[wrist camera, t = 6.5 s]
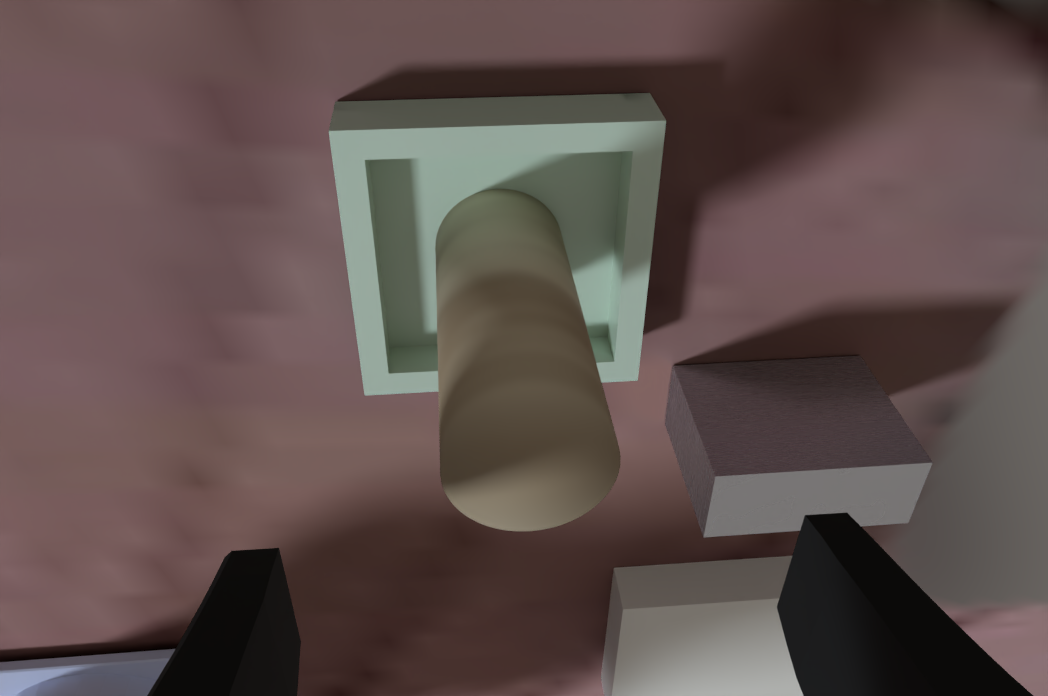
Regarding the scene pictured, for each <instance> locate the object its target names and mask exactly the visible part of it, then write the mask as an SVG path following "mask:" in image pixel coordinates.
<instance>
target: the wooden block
mask: <svg viewBox="0 0 1048 696" xmlns="http://www.w3.org/2000/svg"><path fill="white" fill-rule="evenodd" d="M665 426H666V428H667V431H668V434H669V437H670V440H671V443H672V446H673V449H674V452H675V455H676V458H677V461H678V464H679V467H680V470H681V473H682V476H683V479H684V481H685V484H686V487H687V490H688V493H689V496H690V499H691V502H692V505H693V508H694V511H695V514H696V517H697V520H698V523H699V526H700V529H701V532H702V535H703V537H717V536H731V535H746V534H760V533H774V532H789V531H800V530H801V526H802V523H803V520H804V516H805V515H815V514H831V513H848V514H849V515H850V516H851V517H852V518H853V519H854V520H855V521H856V522H857V523H858V524H859V525H860V526H874V525H889V524H903V523H909V520H910V518H911V515H912V513H913V511H914V508H915V506H916V503H917V501H918V498H919V496H920V493H921V491H922V488H923V486H924V483H925V481H926V478H927V476H928V473H929V471H930V468H931V466H932V463H933V462H932V461H931V459H930V458H929V456H928V455H927V453H926V452H925V450H924V449H923V447H922V446H921V444H920V443H919V441H918V440H917V439H916V437H915V436H914V434H913V433H912V431H911V430H910V428H909V427H908V425H907V424H906V422H905V421H904V419H903V418H902V416H901V415H900V413H899V412H898V411H897V409H896V408H895V406H894V405H893V403H892V402H891V400H890V399H889V397H888V396H887V394H886V393H885V391H884V390H883V388H882V387H881V386H880V384H879V383H878V381H877V380H876V378H875V377H874V375H873V374H872V372H871V371H870V369H869V368H868V366H867V365H866V363H865V362H864V360H863V359H862V358H861V356H844V357H826V358H807V359H788V360H770V361H751V362H732V363H714V364H695V365H676V366H673V370H672V377H671V384H670V391H669V398H668V406H667V413H666V420H665Z"/></svg>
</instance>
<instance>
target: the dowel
mask: <svg viewBox="0 0 1048 696" xmlns="http://www.w3.org/2000/svg"><path fill="white" fill-rule="evenodd" d="M435 254H436V299H437V344H438V390H439V435H440V475H441V482H442V486H443V489H444V491H445V493H446V495H447V497H448V499H449V500H450V501H451V502H452V504H453V505H454V506H455V507H456V508H457V509H458V510H459V511H460V512H461V513H463V514H464V515H466V516H467V517H468V518H470V519H472V520H474V521H476V522H478V523H480V524H483V525H485V526H489V527H492V528H496V529H501V530H507V531H536V530H543V529H548V528H553V527H556V526H559V525H563V524H565V523H568V522H570V521H573V520H575V519H577V518H578V517H580V516H582V515H584V514H585V513H587V512H588V511H590V510H591V509H593V508H594V507H595V506H596V505H598V504H599V503H600V502H601V501H602V500H603V499H604V498H605V496H606V495H607V494H608V492H609V491H610V490H611V488H612V486H613V485H614V483H615V481H616V478H617V476H618V473H619V468H620V451H619V446H618V442H617V438H616V435H615V431H614V427H613V424H612V420H611V416H610V412H609V409H608V405H607V401H606V398H605V394H604V390H603V386H602V383H601V379H600V375H599V372H598V368H597V364H596V360H595V357H594V353H593V349H592V346H591V342H590V338H589V334H588V331H587V327H586V323H585V320H584V316H583V312H582V308H581V305H580V301H579V297H578V294H577V290H576V286H575V282H574V279H573V275H572V271H571V268H570V264H569V260H568V256H567V253H566V249H565V245H564V242H563V238H562V234H561V230H560V227H559V224H558V222H557V220H556V218H555V217H554V215H553V214H552V212H551V211H550V210H549V209H548V208H547V207H546V206H545V205H544V204H543V203H542V202H541V201H539V200H538V199H536V198H534V197H533V196H531V195H528V194H526V193H523V192H520V191H516V190H510V189H491V190H486V191H481V192H478V193H475V194H473V195H471V196H469V197H467V198H465V199H463V200H462V201H460V202H459V203H458V204H456V205H455V206H454V207H453V208H452V209H451V210H450V211H449V212H448V213H447V215H446V216H445V218H444V219H443V221H442V223H441V225H440V227H439V229H438V232H437V236H436V245H435Z"/></svg>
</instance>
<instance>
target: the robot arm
mask: <svg viewBox="0 0 1048 696" xmlns="http://www.w3.org/2000/svg"><path fill="white" fill-rule="evenodd" d="M777 610H778V614H779V617H780V621H781V625H782V629H783V633H784V636H785V640H786V644H787V647H788V651H789V654H790V658H791V661H792V664H793V668H794V671H795V675H796V678H797V681H798V683H799V686H800V688H801V691H802V693H803V696H1033V695H1032V694H1031V693H1030V692H1028V691H1027V690H1026V689H1025V688H1024V687H1023V686H1022V685H1021V684H1019V683H1018V682H1017V681H1016V680H1015V679H1014V678H1013V677H1012V676H1011V675H1009V674H1008V673H1007V672H1006V671H1005V670H1004V669H1003V668H1002V667H1001V666H1000V665H999V664H998V663H997V662H996V661H994V660H993V659H992V658H991V657H990V656H989V655H988V654H987V653H986V652H985V651H984V650H983V649H982V648H981V647H980V646H979V645H978V644H977V643H976V642H975V641H974V640H972V639H971V638H970V637H969V636H968V635H967V634H966V633H965V632H964V631H963V630H962V629H961V628H960V627H959V626H958V625H957V624H956V623H955V622H954V621H953V620H952V619H951V618H950V617H949V616H948V615H947V614H946V613H945V612H944V611H943V610H942V609H941V608H940V607H939V606H938V605H937V604H936V603H935V602H934V601H933V600H932V599H931V598H930V597H929V596H928V595H927V594H926V593H925V592H924V591H923V590H922V589H921V588H920V587H919V586H918V585H917V584H916V583H915V582H914V581H913V580H912V579H911V578H910V577H909V576H908V575H907V574H906V573H905V572H904V571H903V570H902V569H901V568H900V566H899V565H898V564H897V563H896V562H895V561H894V560H893V559H892V558H891V557H890V556H889V555H888V554H887V553H886V552H885V551H884V550H883V549H882V548H881V547H880V546H879V545H878V544H877V543H876V542H875V541H874V539H873V538H872V537H871V536H870V535H869V534H868V533H867V532H866V531H865V530H864V529H863V528H862V527H861V526H860V525H859V524H858V523H857V522H856V521H855V520H854V519H853V518H852V517H851V516H850V515H849V514H848V513H831V514H815V515H805V516H804V520H803V523H802V526H801V530H800V533H799V536H798V539H797V543H796V546H795V549H794V552H793V556H792V559H791V562H790V565H789V569H788V572H787V575H786V578H785V582H784V585H783V588H782V591H781V595H780V598H779V601H778V604H777ZM300 643H301V641H300V636H299V632H298V628H297V623H296V619H295V615H294V611H293V606H292V602H291V598H290V594H289V589H288V585H287V581H286V576H285V572H284V568H283V564H282V559H281V555H280V551H279V548H272V549H256V550H240V551H231V552H230V553H229V554H228V555H227V556H226V557H225V558H224V560H223V562H222V564H221V566H220V568H219V570H218V572H217V574H216V576H215V578H214V580H213V582H212V584H211V586H210V588H209V590H208V592H207V594H206V595H205V597H204V599H203V601H202V603H201V605H200V607H199V608H198V610H197V612H196V614H195V616H194V618H193V619H192V621H191V623H190V625H189V626H188V628H187V630H186V632H185V633H184V635H183V637H182V639H181V640H180V642H179V644H178V646H177V647H176V649H166V650H153V651H140V652H127V653H114V654H101V655H88V656H74V657H61V658H48V659H35V660H22V661H9V662H0V696H297V687H298V673H299V658H300Z"/></svg>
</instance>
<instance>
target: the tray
mask: <svg viewBox="0 0 1048 696" xmlns="http://www.w3.org/2000/svg"><path fill="white" fill-rule="evenodd" d="M665 128H666V119H665V118H664V116H663V114H662V113H661V111H660V109H659V108H658V106H657V104H656V103H655V101H654V99H653V98H652V96H651V94H650V93H631V94H595V95H558V96H522V97H486V98H450V99H414V100H378V101H342V102H335V105H334V110H333V114H332V119H331V123H330V127H329V137H330V144H331V152H332V159H333V166H334V174H335V181H336V188H337V196H338V203H339V210H340V218H341V225H342V232H343V240H344V247H345V255H346V262H347V269H348V277H349V284H350V291H351V299H352V306H353V313H354V321H355V328H356V335H357V343H358V350H359V357H360V365H361V372H362V379H363V387H364V394H365V395H382V394H400V393H419V392H437V391H439V390H438V344H437V299H436V254H435V245H436V236H437V232H438V229H439V227H440V225H441V223H442V221H443V219H444V218H445V216H446V215H447V213H448V212H449V211H450V210H451V209H452V208H453V207H454V206H455V205H456V204H458V203H459V202H460V201H462V200H463V199H465V198H467V197H469V196H471V195H473V194H475V193H478V192H481V191H486V190H491V189H510V190H516V191H520V192H523V193H526V194H528V195H531V196H533V197H534V198H536V199H538V200H539V201H541V202H542V203H543V204H544V205H545V206H546V207H547V208H548V209H549V210H550V211H551V212H552V214H553V215H554V217H555V218H556V220H557V222H558V224H559V227H560V230H561V234H562V238H563V242H564V245H565V249H566V253H567V256H568V260H569V264H570V268H571V271H572V275H573V279H574V282H575V286H576V290H577V294H578V297H579V301H580V305H581V308H582V312H583V316H584V320H585V323H586V327H587V331H588V334H589V338H590V342H591V346H592V349H593V353H594V357H595V360H596V364H597V368H598V372H599V375H600V379H601V382H620V381H638V373H639V364H640V355H641V346H642V337H643V328H644V319H645V310H646V300H647V291H648V282H649V273H650V264H651V255H652V246H653V237H654V228H655V219H656V209H657V200H658V191H659V182H660V173H661V164H662V155H663V146H664V137H665Z"/></svg>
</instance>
